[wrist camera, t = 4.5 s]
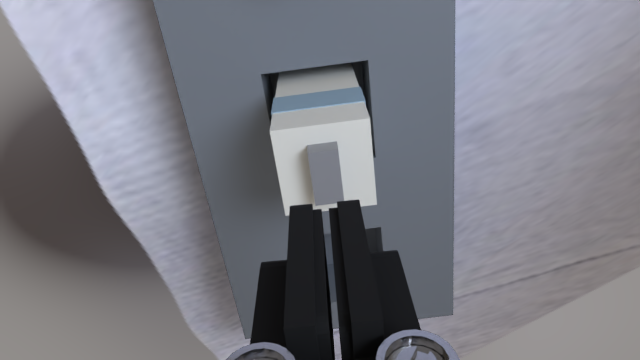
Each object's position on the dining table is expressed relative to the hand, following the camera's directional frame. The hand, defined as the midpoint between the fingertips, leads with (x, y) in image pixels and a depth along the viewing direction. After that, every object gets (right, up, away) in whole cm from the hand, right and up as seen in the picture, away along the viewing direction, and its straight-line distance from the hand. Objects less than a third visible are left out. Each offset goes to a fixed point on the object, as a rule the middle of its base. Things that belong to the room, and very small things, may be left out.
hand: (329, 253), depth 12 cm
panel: (0, +6, +18) cm, 19 cm away
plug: (0, +7, +17) cm, 18 cm away
